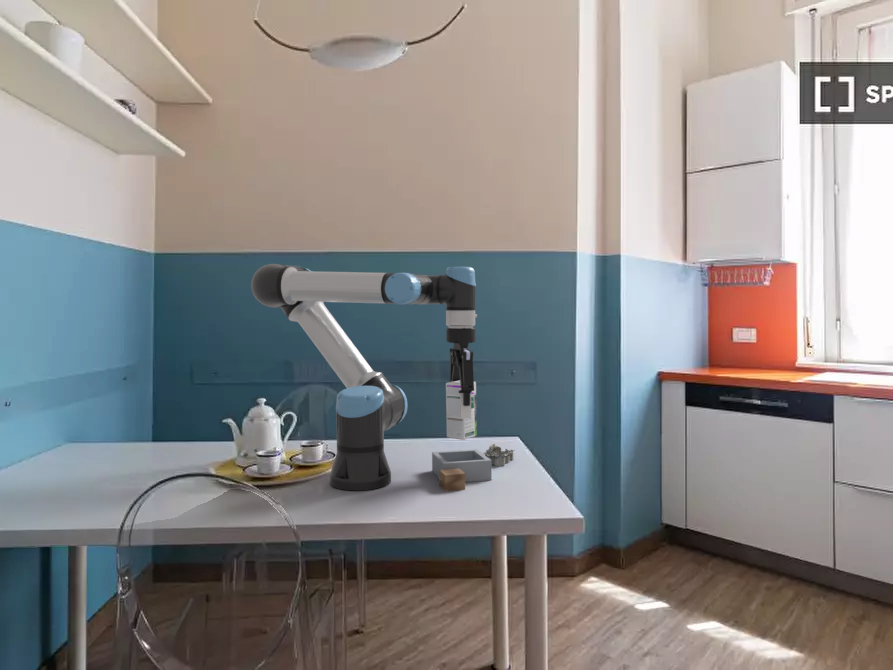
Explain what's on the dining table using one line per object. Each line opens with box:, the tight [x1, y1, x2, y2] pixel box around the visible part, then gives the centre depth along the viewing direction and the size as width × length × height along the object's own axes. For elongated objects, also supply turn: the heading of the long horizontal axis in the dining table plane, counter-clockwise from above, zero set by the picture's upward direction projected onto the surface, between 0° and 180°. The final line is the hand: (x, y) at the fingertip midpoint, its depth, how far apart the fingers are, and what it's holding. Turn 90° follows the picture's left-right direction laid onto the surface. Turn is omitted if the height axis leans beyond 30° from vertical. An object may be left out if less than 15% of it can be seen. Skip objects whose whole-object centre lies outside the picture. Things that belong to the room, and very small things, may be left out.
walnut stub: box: [438, 468, 466, 492], centre depth 154 cm, size 5×5×4 cm
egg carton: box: [483, 443, 515, 467], centre depth 179 cm, size 11×8×4 cm
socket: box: [431, 448, 492, 483], centre depth 165 cm, size 12×12×5 cm
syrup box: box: [445, 380, 478, 441], centre depth 164 cm, size 6×6×14 cm
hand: (461, 415), depth 164 cm, fingers closed on syrup box, 8 cm apart
